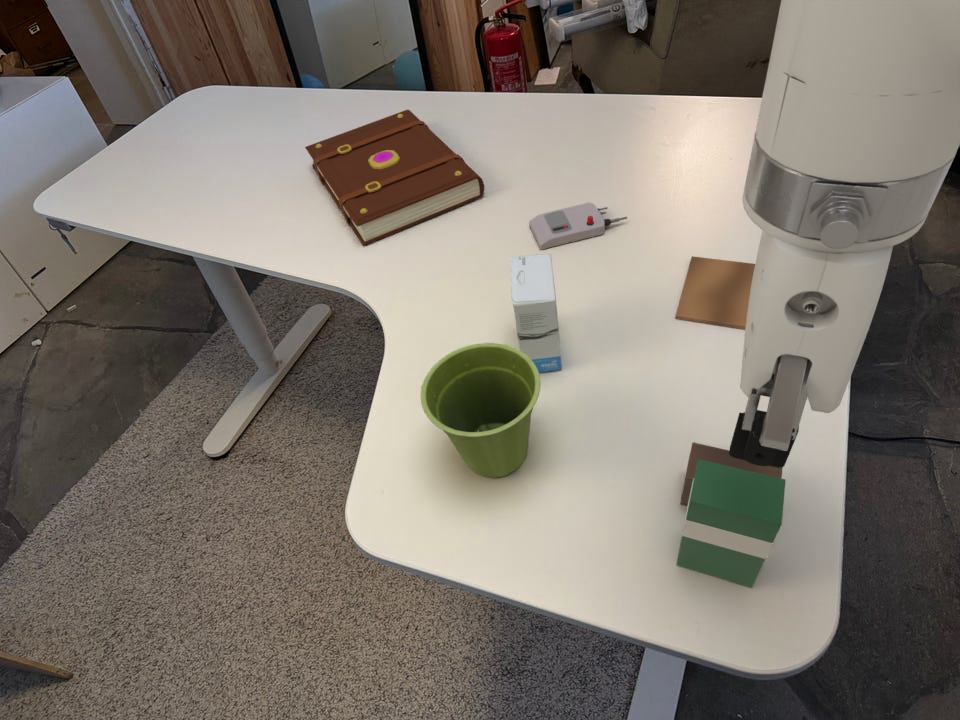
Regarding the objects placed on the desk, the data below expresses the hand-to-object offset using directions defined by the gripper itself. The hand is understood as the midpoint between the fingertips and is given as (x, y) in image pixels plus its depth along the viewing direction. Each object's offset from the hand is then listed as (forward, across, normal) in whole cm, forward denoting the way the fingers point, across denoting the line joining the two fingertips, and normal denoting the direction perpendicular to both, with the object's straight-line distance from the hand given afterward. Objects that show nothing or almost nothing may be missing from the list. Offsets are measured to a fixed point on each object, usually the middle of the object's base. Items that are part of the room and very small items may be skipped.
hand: (761, 416), depth 40 cm
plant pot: (+22, +5, +24) cm, 33 cm away
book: (+22, +54, +63) cm, 86 cm away
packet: (+22, +2, 0) cm, 22 cm away
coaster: (+22, +36, +3) cm, 42 cm away
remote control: (+22, +46, +27) cm, 58 cm away
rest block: (+22, +6, 0) cm, 22 cm away
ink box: (+22, +21, +24) cm, 39 cm away
